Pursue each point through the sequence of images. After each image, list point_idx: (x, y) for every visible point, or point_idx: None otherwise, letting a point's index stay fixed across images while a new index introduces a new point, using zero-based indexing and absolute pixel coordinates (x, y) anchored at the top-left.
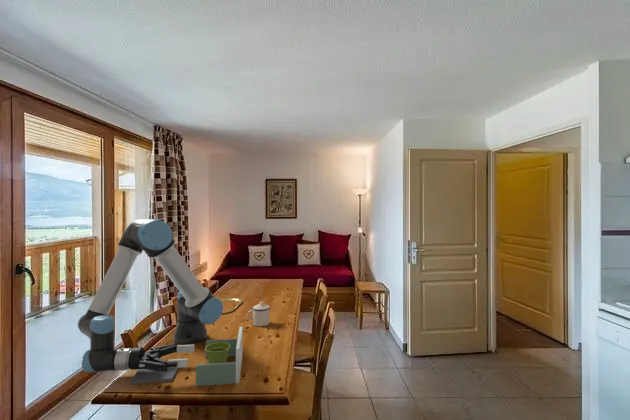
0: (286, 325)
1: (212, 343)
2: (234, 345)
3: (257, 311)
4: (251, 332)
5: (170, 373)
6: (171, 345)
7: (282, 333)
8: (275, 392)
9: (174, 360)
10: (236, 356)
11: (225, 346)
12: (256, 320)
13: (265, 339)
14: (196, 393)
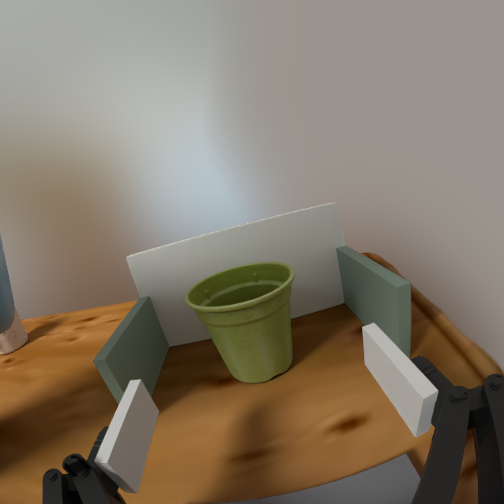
0: (54, 319)
1: (190, 304)
2: (151, 321)
3: None
4: (36, 353)
5: (346, 499)
6: (63, 500)
7: (84, 316)
8: (367, 256)
9: (413, 364)
10: (341, 224)
11: (208, 293)
12: (10, 336)
13: (92, 329)
14: (446, 332)
